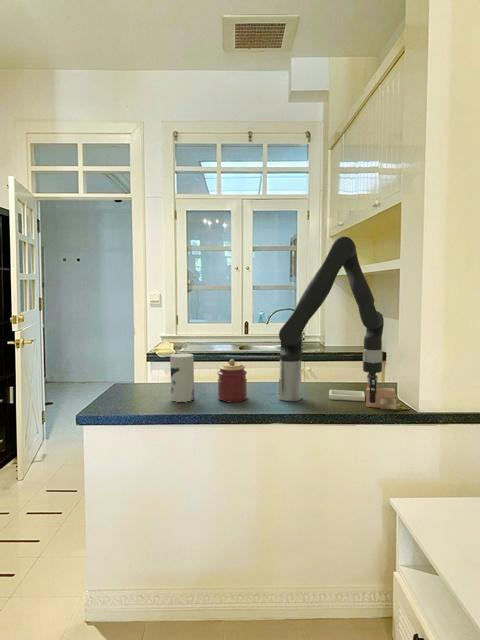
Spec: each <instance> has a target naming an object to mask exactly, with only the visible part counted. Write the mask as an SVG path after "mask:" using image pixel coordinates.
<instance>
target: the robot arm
mask: <svg viewBox="0 0 480 640" xmlns="http://www.w3.org/2000/svg"><path fill="white" fill-rule="evenodd" d="M342 267H343V269H344V271H345V273H346V276H347V279H348V283H349V287H350V290H351V293H352V295H353V297H354V299H355V303H356V304H357V307H358V313H359V317H360V320H361V323H362V325H363V326H364V328H366V330H365V332H366V333H365V336H364V337H363V354H362V371H363V372H364V373H367V375H366V378H367V379H366V380H367V387H368V388H369V393H370V403H375V394H376V393H377V391H376V388H378V381H379V380H378V379H379V378H378V375H377V373H378V374H380V373H382V372H383V349H382V348H383V345H382V344H383V340H382V336H383V333H384V332H383V331H384V323H385V322H384V321H385V320H384V315H383V314H382V313H381V312H380V311H377V309H376V306H375V297H374V295H373V292H372V291H371V288H370V285H369V284H368V281H367V279H366V276H365V275H364V273H363V270H362V268H361V265H360V262H359V257H358V253H357V246H356V243H355V242H354V241H353V239H351V238H350V237H348V236H340V237H338V238H337V239H335V240H334V242H333V243H332V245H331V246H330V249H329V252H328V253H327V255H326V257H325V259H324V260H323V263H322V264H321V265H320V267H319V269H318V270H317V272H315V274H314V276H313V277H312V279H311V280H310V281H309V283H308V284H307V286H306V288H305V289H304V291H303V292H302V295H301V296H300V298H299V300H298V303H296V304H297V305H296V306H295V309H294V311H293V312H292V314H291V315H290V317H289V318H288V319H287V320H286V322H284V324H283V325H282V327H281V328H280V329H279V332H278V338H279V341H280V351H279V378H278V400H280V401H286V402H296V401H300V400H301V399H302V351H303V349H302V348H303V346H302V345H303V331H304V329H305V328H306V326H307V324H308V323H309V321H310V320H311V319H312V317H313V316H314V315H315V314H316V312H317V311H318V310H319V309H320V307H321V306H322V305H323V304H324V302H325V300H326V299H327V297H328V295H329V293H330V292H331V291H332V288H333V286H334V283H335V281H336V278H337V275H338V273H339V272H340V270H342ZM371 388H374V390H371Z"/></svg>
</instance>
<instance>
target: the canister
mask: <svg viewBox="0 0 480 640" xmlns="http://www.w3.org/2000/svg"><path fill="white" fill-rule="evenodd" d="M245 368H246V367H245V366H244V365H243V364H242V363H239V362H236V361H235V359H233V358H232V359H230V360H229V362H226V363H222V364H221V365H220V366H219V371H217V375H218V379H217V397H218V398H219V399H220V400H223V401H231V402H230V403H239V402H238V401H241V402H243V400H244V401H246V400H247V399H246V398H248V391H247V389H248V385H247V381H248V379H247V374H248V372H247V371H246V370H245ZM218 398H217V399H218ZM219 399H218V400H219ZM245 399H246V400H245ZM220 400H219V401H220ZM223 401H222V402H223Z"/></svg>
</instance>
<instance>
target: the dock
mask: <svg viewBox="0 0 480 640" xmlns="http://www.w3.org/2000/svg"><path fill="white" fill-rule="evenodd" d="M399 403H400V399H399V397H398V395H397V394H396V393H395V399H387V398H380V408H379V409H380V410H381V409H384V410H398V409H399V410H400V407H399V405H400V404H399Z"/></svg>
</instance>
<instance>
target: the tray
mask: <svg viewBox="0 0 480 640" xmlns="http://www.w3.org/2000/svg"><path fill="white" fill-rule="evenodd" d="M328 391H329V392H328V400H334V401H335V400H336V401H351V402H352V401H353V402H354V401H355V402H366V393H365V391H362V390H361V391H360V390H344V389H342V390H339V389H329V390H328Z"/></svg>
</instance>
